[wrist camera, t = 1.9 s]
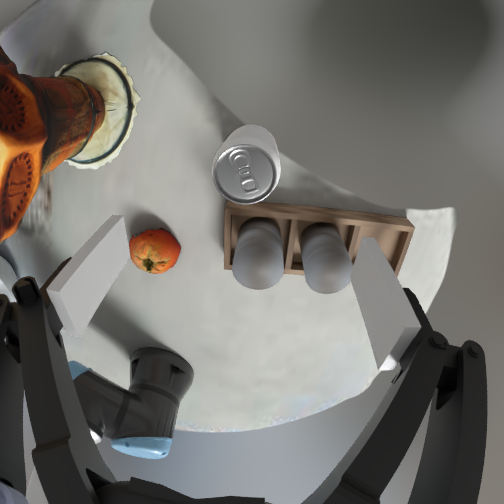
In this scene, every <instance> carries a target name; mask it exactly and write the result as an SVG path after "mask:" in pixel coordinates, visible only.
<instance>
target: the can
mask: <svg viewBox="0 0 504 504" xmlns="http://www.w3.org/2000/svg"><path fill="white" fill-rule="evenodd" d="M280 172H281V166H280V159H279V154H278V148H277V145H276V141H275V139H274V137H273V135H272V134H271V133H270V132H269V131H268V130H267V129H265V128H263V127H261V126H258V125H252V124H249V125H244V126H241V127H239V128H238V129H236V130H235V131H233V132H232V133H231V134H230V135H229V137H228V138H227V139H226V140H225V142H224V143H223V144H222V145H221V147H220V148H219V149H218V151H217V152H216V154H215V156H214V159H213V163H212V176H213V179H214V183H215V186H216V188H217V189H218V191H219V192H220V193H221V194H222V195H223V196H224V197H225V198H226V199H228V200H229V201H232V202H234V203H237V204H244V205H247V204H254V203H257V202H259V201H261V200H263V199H265V198H266V197H267V196H268V195H269V194H270V193H271V192H272V191H273V190H274V188H275V187H276V185H277V183H278V181H279V178H280Z"/></svg>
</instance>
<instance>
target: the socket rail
mask: <svg viewBox="0 0 504 504" xmlns="http://www.w3.org/2000/svg"><path fill="white" fill-rule="evenodd" d="M414 229H415V227H414V226H413V225H412V223H411V222H410V221H409V220H408V219H407V218H402V217H395V216H388V215H381V214H373V213H365V212H357V211H349V210H340V209H331V208H322V207H312V206H301V205H291V204H279V203H267V202H257V203H254V204H247V205H244V204H237V203H234V202H232V201H229V200H227V203H226V206H225V222H224V269H227V270H232V271H233V275H234V277H235V278H236V280H237V281H238V282H239V283H240V284H242V285H243V286H245V287H247V288H251V289H257V290H260V289H267V288H270V287H272V286H274V285H275V284H277V283H278V282H279V281H280V279H281V278H282V276H283V274H295V275H305V279H306V282H307V284H308V286H309V287H310V288H311V289H312V290H314V291H316V292H318V293H323V294H330V293H335V292H338V291H340V290H342V289H343V288H345V287H346V286H347V285H348V284H349V283H350V281H351V279H350V275H351V272H352V269H353V265H354V262H355V259H356V256H357V253H358V249H359V246H360V242H361V239H362V237H371V238H375V239H376V241H377V243H378V245H379V246H380V248H381V250H382V251H383V253H384V255H385V257H386V259H387V260H388V262H389V264H390V266H391V268H392V269H393V271H394V273H395V275H396V277H397V276H398V274H399V271H400V268H401V266H402V263H403V260H404V258H405V255H406V252H407V249H408V247H409V244H410V241H411V238H412V235H413V232H414Z"/></svg>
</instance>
